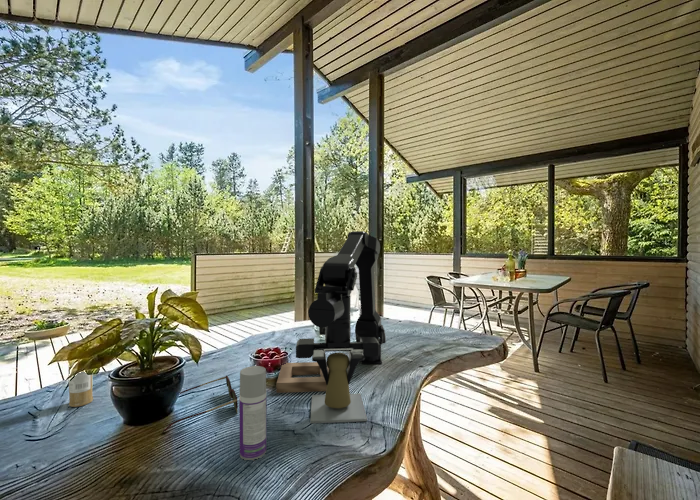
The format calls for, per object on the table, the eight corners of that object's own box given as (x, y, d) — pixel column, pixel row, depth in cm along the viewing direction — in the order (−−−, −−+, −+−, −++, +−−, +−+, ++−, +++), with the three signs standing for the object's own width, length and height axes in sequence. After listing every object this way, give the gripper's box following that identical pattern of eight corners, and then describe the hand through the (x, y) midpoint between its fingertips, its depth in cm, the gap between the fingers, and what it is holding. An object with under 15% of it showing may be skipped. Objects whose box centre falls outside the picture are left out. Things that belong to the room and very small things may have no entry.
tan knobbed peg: (352, 396, 80) (352, 350, 80) (349, 408, 74) (349, 359, 74) (326, 394, 81) (327, 349, 80) (322, 407, 75) (322, 358, 74)
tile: (360, 395, 84) (360, 393, 84) (367, 421, 72) (367, 418, 72) (312, 397, 83) (312, 395, 83) (310, 423, 71) (310, 421, 71)
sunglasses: (239, 419, 73) (237, 396, 73) (161, 443, 66) (158, 419, 66) (228, 392, 86) (226, 373, 85) (162, 411, 79) (160, 390, 78)
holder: (330, 370, 100) (330, 361, 100) (332, 391, 86) (332, 381, 86) (282, 371, 99) (282, 363, 99) (276, 392, 85) (276, 383, 85)
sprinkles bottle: (95, 397, 82) (94, 342, 82) (90, 405, 78) (89, 347, 78) (71, 400, 80) (70, 344, 80) (65, 409, 76) (64, 350, 76)
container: (243, 445, 63) (242, 366, 63) (268, 444, 63) (268, 365, 63) (236, 461, 58) (236, 376, 58) (264, 460, 59) (264, 375, 58)
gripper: (373, 308, 86) (372, 369, 86) (298, 309, 84) (299, 371, 84) (380, 319, 74) (380, 388, 75) (295, 320, 73) (295, 391, 73)
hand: (337, 384), depth 77 cm, fingers closed on tan knobbed peg, 4 cm apart
